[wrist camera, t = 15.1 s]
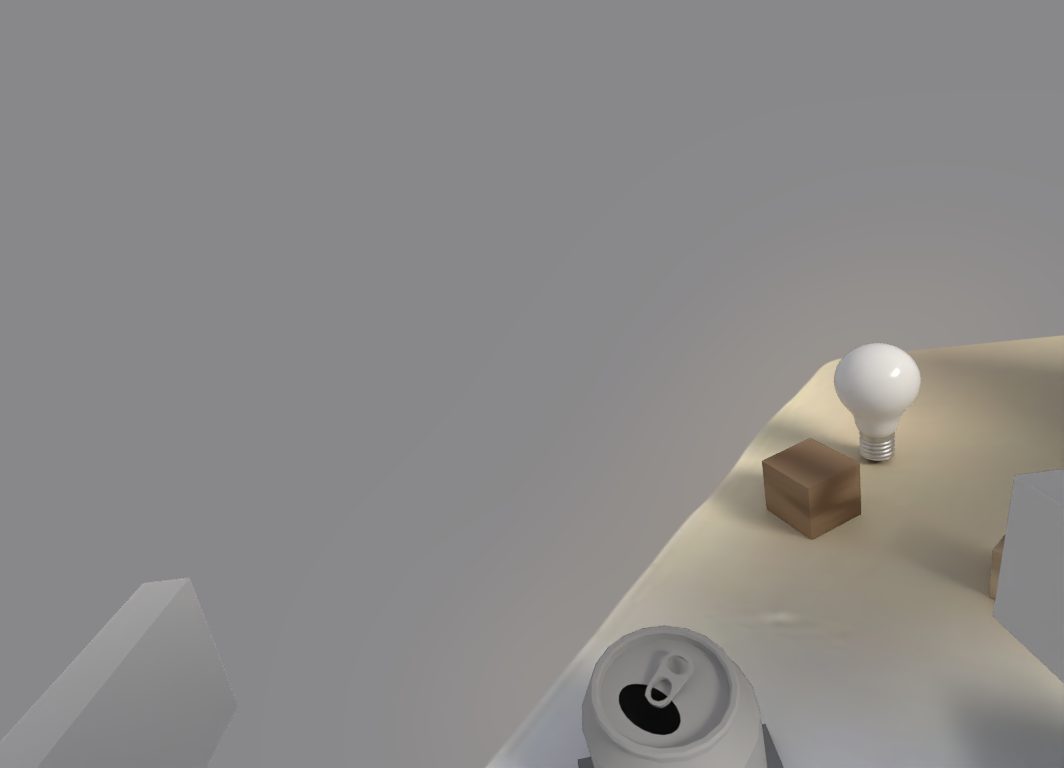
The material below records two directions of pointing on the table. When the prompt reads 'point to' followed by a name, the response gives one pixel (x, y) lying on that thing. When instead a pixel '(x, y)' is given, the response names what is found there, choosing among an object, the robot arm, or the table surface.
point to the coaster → (771, 754)
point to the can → (671, 705)
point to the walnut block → (812, 487)
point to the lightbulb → (877, 393)
